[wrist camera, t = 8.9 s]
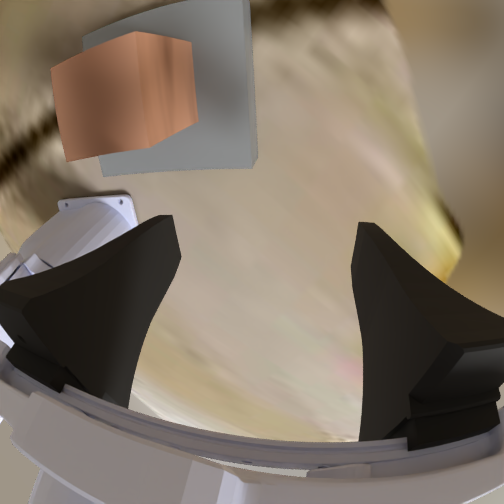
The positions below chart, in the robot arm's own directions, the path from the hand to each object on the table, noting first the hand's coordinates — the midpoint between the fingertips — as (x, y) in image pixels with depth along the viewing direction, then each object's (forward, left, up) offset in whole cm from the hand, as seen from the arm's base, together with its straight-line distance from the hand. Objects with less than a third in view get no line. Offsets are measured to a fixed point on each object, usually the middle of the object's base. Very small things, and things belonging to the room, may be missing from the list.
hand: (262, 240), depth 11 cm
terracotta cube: (-7, +6, -7) cm, 12 cm away
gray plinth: (-7, +6, -9) cm, 13 cm away
